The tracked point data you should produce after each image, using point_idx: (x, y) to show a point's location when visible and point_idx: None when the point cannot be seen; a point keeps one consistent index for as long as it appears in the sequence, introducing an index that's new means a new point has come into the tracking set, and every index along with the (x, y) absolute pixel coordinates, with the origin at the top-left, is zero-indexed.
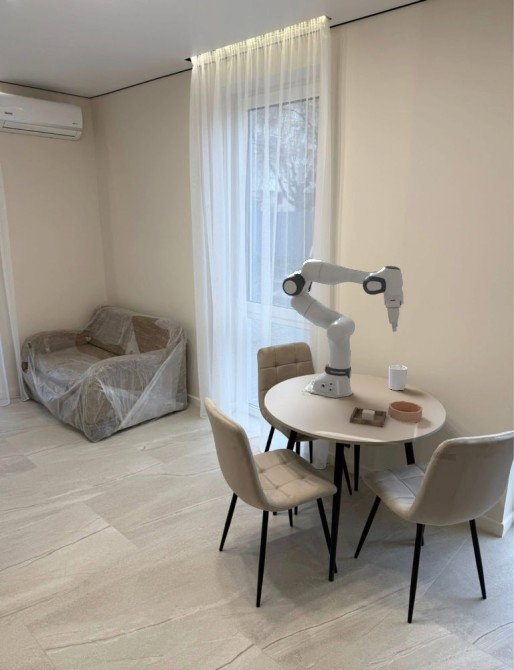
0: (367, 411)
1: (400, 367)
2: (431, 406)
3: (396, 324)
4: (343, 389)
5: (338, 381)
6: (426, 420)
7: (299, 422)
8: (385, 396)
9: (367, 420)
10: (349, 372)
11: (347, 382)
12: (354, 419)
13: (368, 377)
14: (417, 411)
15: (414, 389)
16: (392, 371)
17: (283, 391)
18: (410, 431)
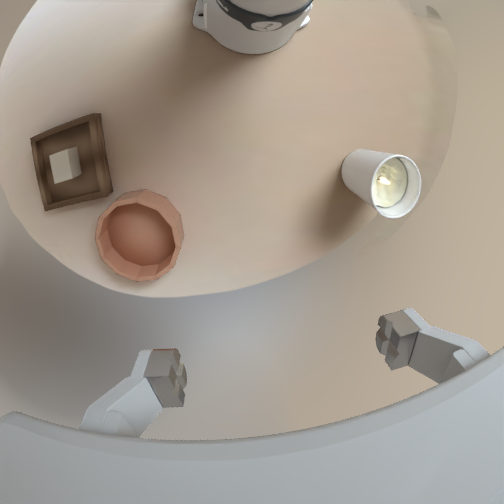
0: (59, 163)
1: (414, 191)
2: (254, 271)
3: (388, 356)
4: (219, 30)
5: (206, 8)
6: None
7: (15, 52)
8: (281, 149)
9: (37, 177)
10: (251, 21)
11: (238, 31)
12: (32, 148)
13: (417, 92)
14: (123, 273)
15: (368, 216)
16: (371, 169)
17: None
18: (78, 257)
